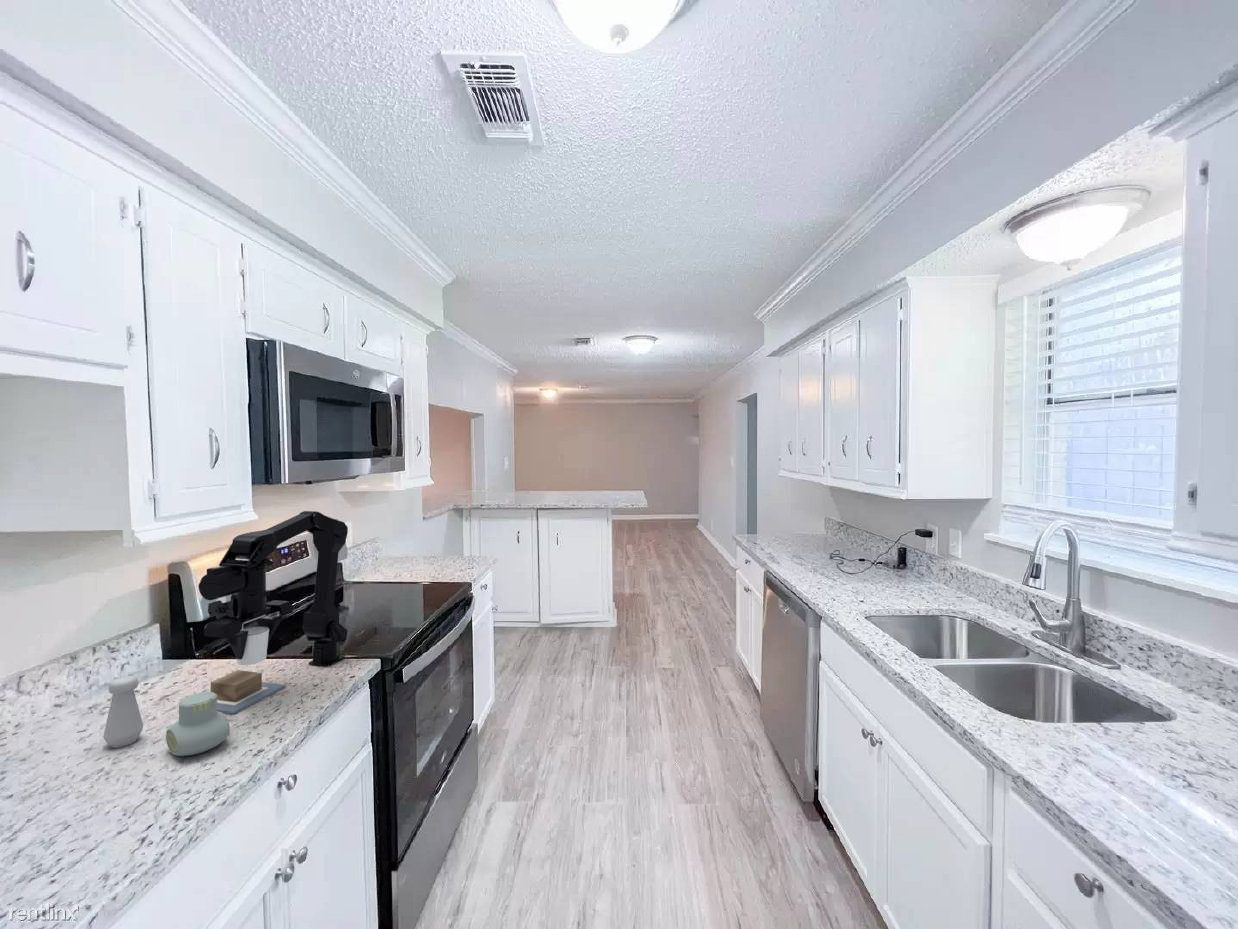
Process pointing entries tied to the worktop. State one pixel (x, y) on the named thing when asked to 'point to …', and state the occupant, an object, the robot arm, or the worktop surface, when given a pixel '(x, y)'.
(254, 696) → the board
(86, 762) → the worktop surface
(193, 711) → the air freshener
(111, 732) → the salt shaker
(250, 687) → the walnut block
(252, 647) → the white cup
